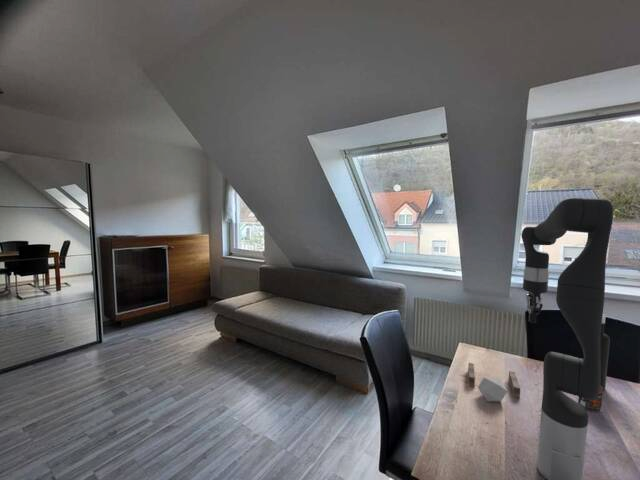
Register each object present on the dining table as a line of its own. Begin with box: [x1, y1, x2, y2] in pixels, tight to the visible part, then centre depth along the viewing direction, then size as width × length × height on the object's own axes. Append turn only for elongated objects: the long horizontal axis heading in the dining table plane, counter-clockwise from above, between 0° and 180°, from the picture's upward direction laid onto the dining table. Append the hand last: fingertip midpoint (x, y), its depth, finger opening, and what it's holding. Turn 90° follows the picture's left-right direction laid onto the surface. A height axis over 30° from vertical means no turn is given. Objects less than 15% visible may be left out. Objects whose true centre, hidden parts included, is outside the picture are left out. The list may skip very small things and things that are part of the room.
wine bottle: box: [600, 313, 611, 391], centre depth 113 cm, size 6×6×30 cm
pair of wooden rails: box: [467, 362, 521, 399], centre depth 116 cm, size 12×17×4 cm
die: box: [477, 376, 508, 403], centre depth 106 cm, size 8×9×10 cm
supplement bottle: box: [577, 385, 604, 413], centre depth 101 cm, size 6×6×11 cm
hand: (532, 322), depth 110 cm, fingers closed
